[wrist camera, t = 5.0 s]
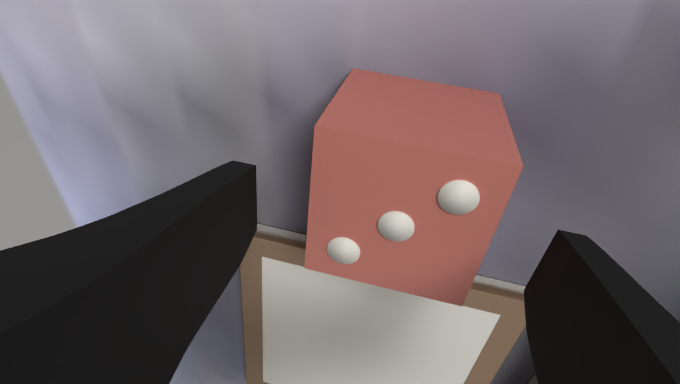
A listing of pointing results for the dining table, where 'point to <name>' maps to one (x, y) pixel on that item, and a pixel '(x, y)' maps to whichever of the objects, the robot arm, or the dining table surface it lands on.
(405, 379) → the board
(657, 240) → the dining table surface
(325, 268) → the small die
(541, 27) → the dining table surface
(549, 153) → the dining table surface
